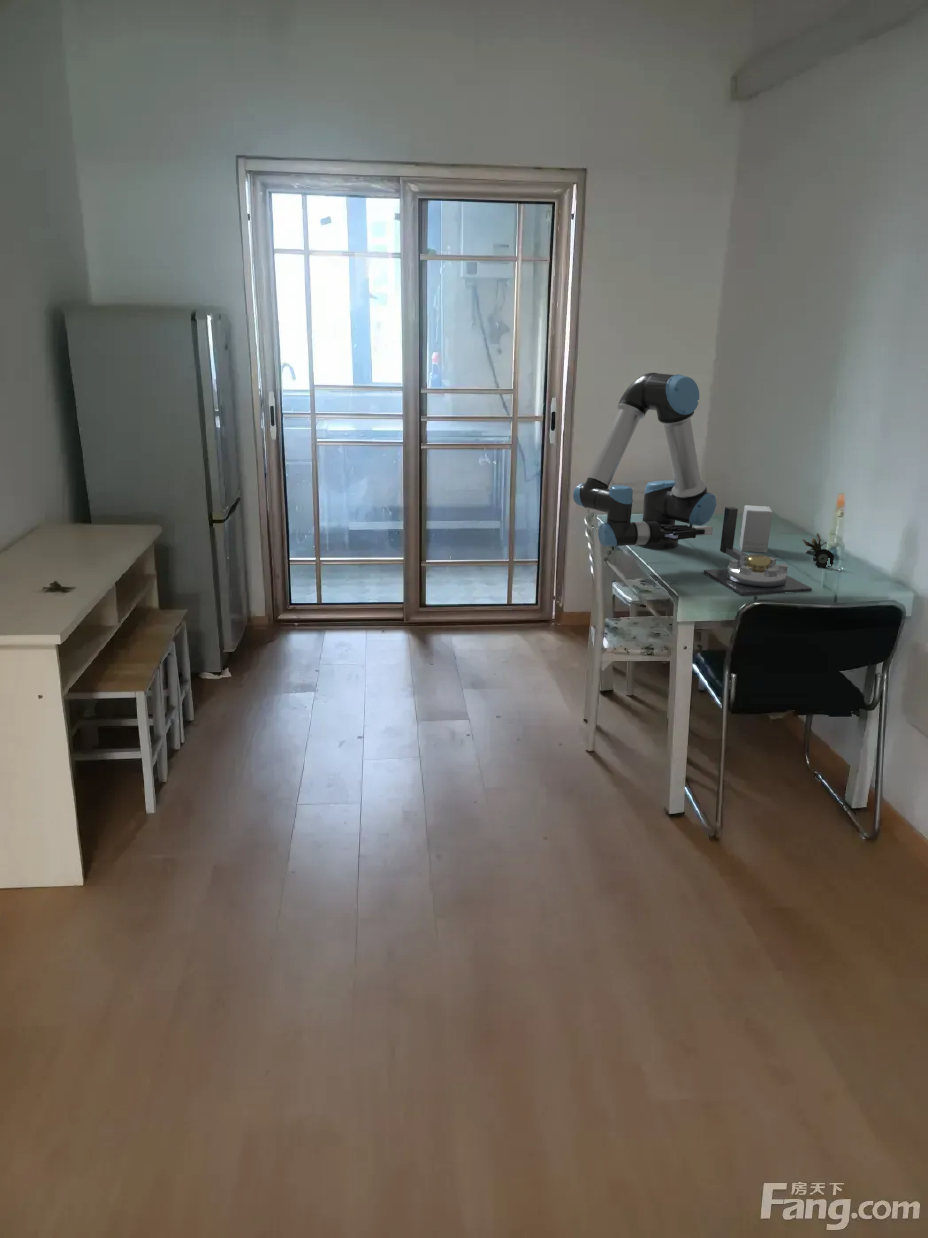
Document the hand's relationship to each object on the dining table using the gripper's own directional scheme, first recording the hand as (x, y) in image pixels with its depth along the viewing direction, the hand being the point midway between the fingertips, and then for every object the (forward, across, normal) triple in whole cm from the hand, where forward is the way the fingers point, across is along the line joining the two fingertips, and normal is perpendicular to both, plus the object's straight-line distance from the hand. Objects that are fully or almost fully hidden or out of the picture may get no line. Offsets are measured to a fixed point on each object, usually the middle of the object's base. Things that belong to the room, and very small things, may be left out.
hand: (711, 530), depth 295 cm
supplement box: (+26, -16, -12) cm, 33 cm away
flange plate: (+6, +20, -12) cm, 24 cm away
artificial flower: (+42, 0, -12) cm, 43 cm away
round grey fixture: (+6, +14, -11) cm, 19 cm away
